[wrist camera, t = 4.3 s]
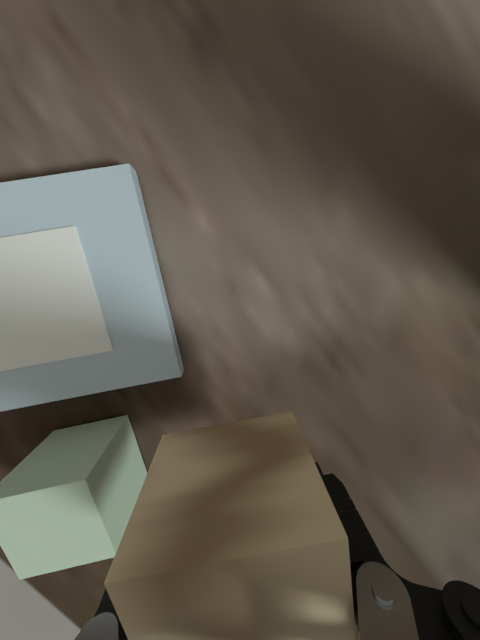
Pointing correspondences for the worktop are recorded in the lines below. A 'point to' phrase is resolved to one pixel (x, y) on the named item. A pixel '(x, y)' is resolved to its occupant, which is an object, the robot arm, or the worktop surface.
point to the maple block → (234, 541)
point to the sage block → (71, 497)
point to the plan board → (80, 289)
